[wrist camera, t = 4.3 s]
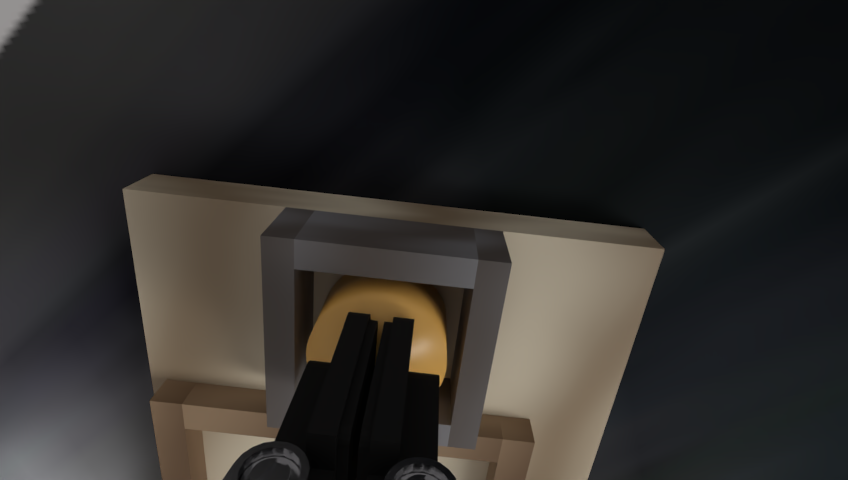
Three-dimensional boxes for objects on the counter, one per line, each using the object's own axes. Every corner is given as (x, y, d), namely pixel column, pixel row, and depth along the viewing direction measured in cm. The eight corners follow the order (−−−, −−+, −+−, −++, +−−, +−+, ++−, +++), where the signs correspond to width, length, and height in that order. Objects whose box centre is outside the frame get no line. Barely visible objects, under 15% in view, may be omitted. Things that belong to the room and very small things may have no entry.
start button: (454, 271, 13) (455, 309, 12) (438, 374, 15) (438, 422, 13) (325, 256, 13) (306, 292, 12) (322, 361, 15) (305, 408, 13)
